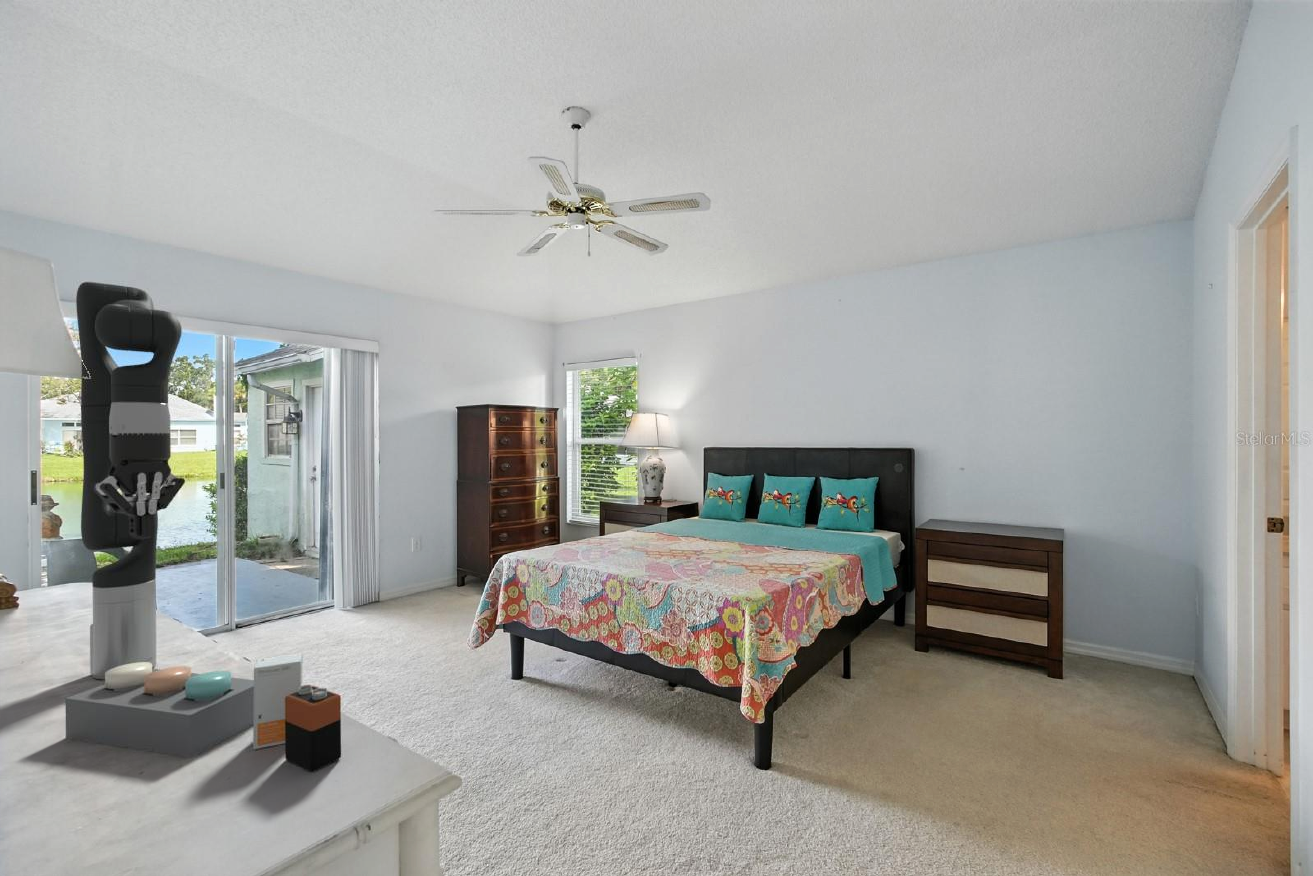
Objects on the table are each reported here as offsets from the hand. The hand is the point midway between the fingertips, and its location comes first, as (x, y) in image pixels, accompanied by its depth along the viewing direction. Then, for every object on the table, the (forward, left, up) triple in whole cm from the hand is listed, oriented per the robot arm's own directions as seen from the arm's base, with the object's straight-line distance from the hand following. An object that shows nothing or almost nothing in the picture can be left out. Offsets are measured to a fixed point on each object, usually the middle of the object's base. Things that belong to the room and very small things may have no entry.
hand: (141, 538), depth 97 cm
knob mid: (+8, -2, -28) cm, 29 cm away
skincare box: (+28, -1, -29) cm, 40 cm away
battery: (+37, -4, -29) cm, 48 cm away
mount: (+8, -2, -29) cm, 30 cm away
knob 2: (+16, -2, -28) cm, 32 cm away
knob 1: (0, -2, -28) cm, 28 cm away
